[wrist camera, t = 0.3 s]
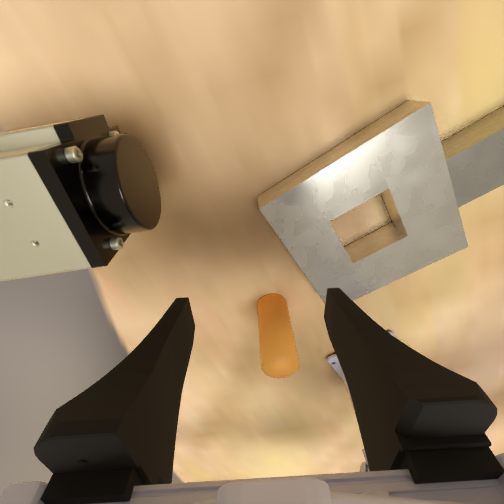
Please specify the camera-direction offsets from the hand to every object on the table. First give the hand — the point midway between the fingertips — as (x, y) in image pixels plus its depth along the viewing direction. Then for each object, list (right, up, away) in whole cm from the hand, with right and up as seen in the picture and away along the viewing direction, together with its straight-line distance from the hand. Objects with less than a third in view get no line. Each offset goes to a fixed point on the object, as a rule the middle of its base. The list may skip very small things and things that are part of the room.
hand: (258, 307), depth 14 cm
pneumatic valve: (-12, +10, +5) cm, 16 cm away
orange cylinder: (+2, -3, +13) cm, 14 cm away
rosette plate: (+12, +8, +7) cm, 16 cm away
